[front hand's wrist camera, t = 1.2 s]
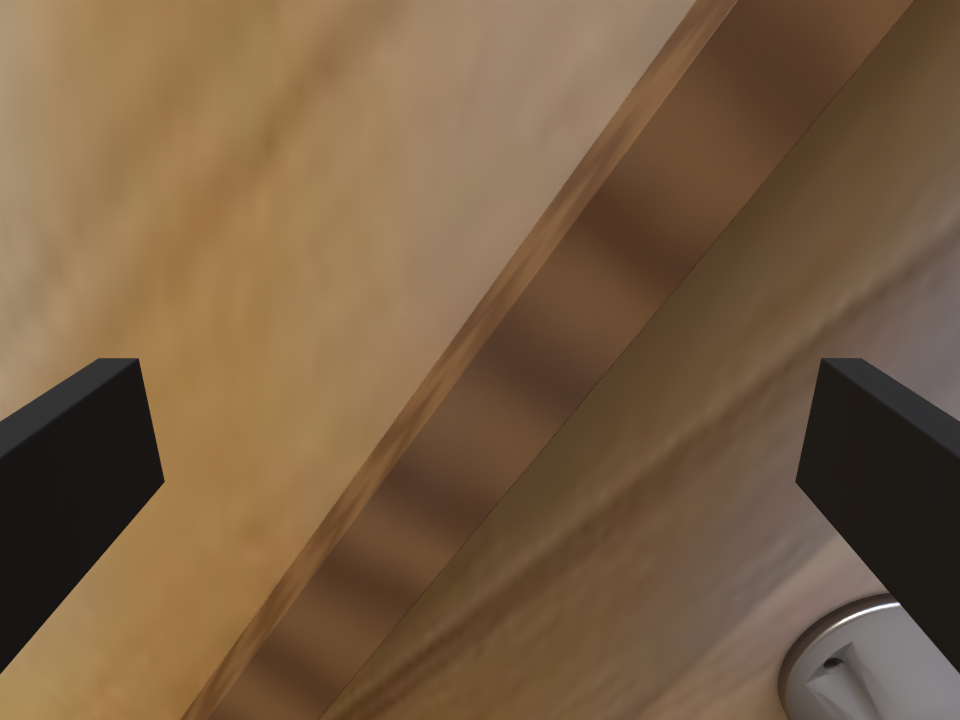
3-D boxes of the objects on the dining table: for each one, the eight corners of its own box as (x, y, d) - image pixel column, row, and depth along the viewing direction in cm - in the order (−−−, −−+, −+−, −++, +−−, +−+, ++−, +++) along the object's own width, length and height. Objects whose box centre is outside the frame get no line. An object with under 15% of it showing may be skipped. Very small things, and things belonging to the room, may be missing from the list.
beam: (244, 751, 50) (206, 855, 43) (178, 722, 49) (128, 824, 42) (1210, -473, 25) (1496, -700, 18) (1123, -595, 24) (1392, -890, 17)
